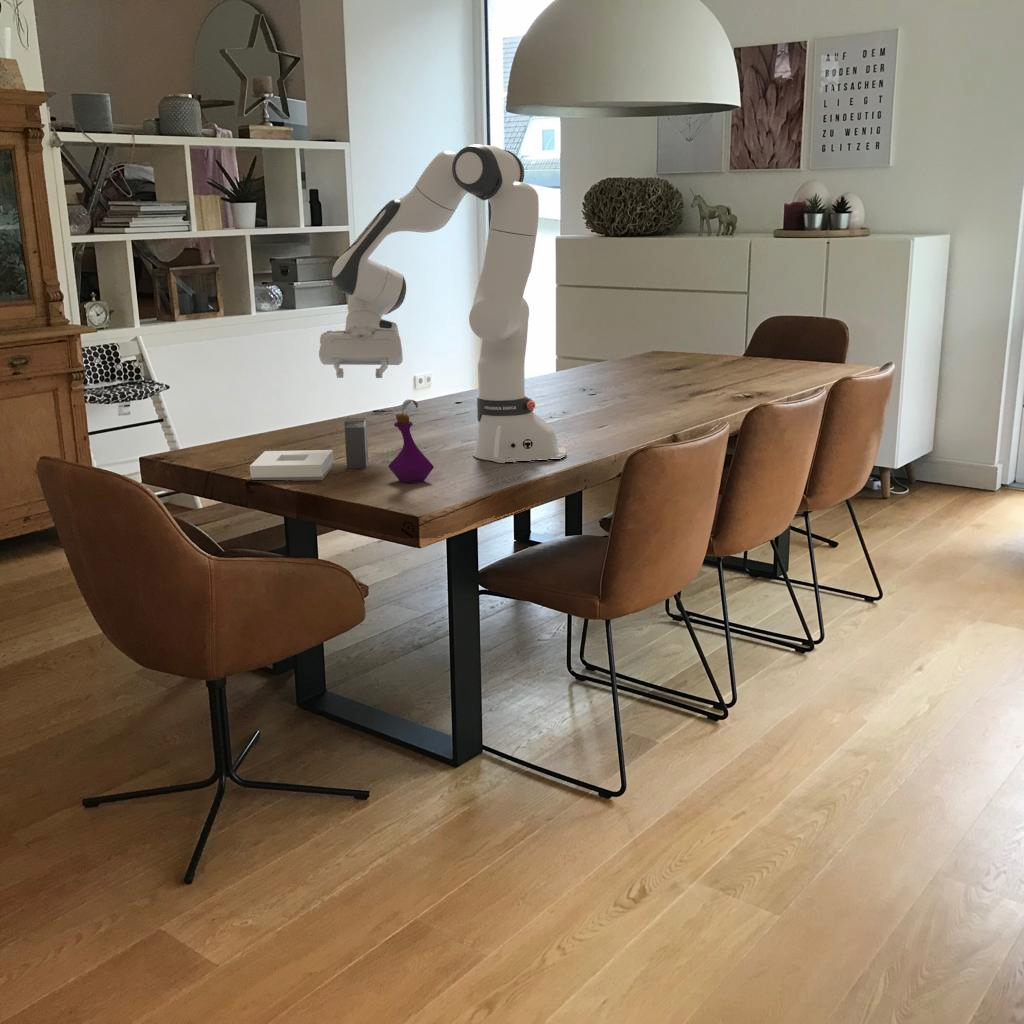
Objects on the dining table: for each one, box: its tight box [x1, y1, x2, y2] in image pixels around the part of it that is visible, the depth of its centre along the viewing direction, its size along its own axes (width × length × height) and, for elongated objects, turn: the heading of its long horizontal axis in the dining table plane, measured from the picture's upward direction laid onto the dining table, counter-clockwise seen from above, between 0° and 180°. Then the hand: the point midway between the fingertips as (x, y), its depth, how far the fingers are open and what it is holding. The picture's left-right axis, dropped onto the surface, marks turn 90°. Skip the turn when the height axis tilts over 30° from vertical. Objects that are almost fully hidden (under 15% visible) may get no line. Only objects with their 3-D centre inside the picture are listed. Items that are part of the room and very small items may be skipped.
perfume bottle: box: [387, 399, 435, 484], centre depth 250 cm, size 8×8×18 cm
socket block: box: [249, 449, 334, 482], centre depth 261 cm, size 16×16×4 cm
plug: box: [343, 417, 369, 469], centre depth 266 cm, size 4×4×11 cm
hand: (359, 376), depth 275 cm, fingers open, 8 cm apart
